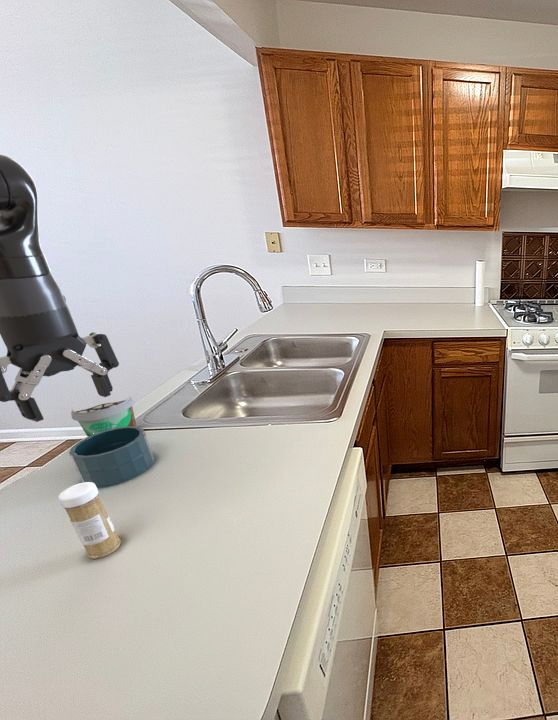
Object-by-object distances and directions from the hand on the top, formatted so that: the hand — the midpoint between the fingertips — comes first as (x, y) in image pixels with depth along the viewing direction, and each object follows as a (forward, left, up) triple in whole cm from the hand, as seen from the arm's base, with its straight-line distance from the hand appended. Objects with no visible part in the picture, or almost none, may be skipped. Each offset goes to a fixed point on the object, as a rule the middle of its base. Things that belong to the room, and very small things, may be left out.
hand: (73, 407), depth 63 cm
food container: (-23, +40, -28) cm, 54 cm away
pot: (-14, +25, -28) cm, 40 cm away
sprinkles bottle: (-3, -1, -28) cm, 28 cm away
